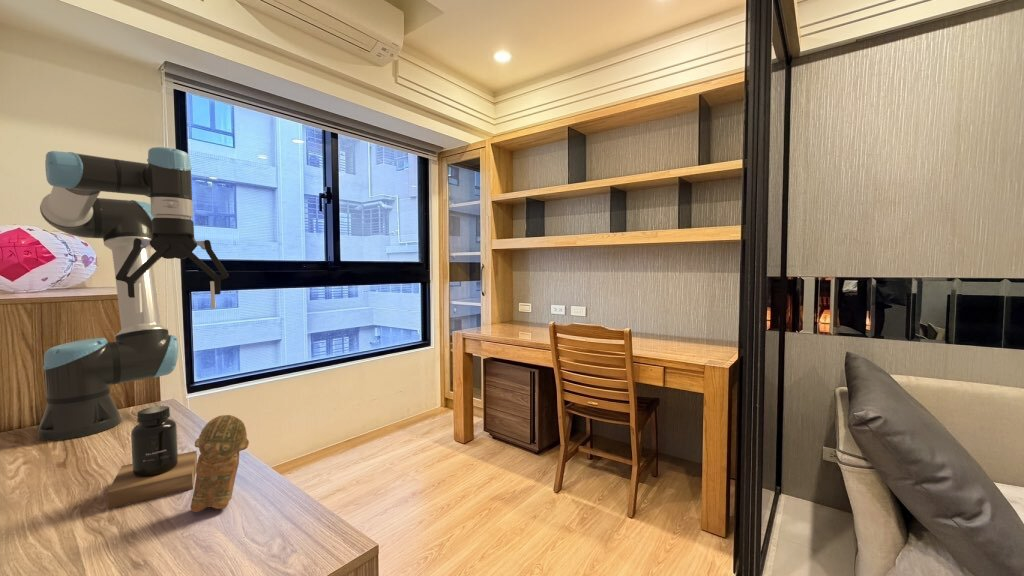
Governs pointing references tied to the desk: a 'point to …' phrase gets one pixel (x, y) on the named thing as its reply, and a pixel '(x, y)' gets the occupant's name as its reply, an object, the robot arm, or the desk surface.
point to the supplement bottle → (154, 442)
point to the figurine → (218, 461)
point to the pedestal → (152, 482)
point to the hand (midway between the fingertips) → (177, 310)
